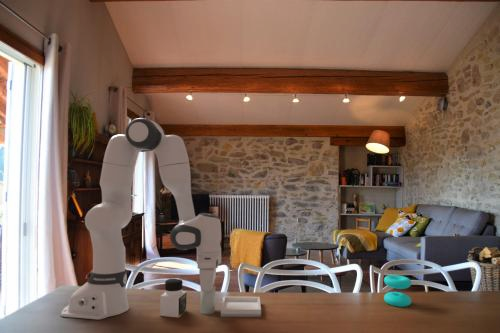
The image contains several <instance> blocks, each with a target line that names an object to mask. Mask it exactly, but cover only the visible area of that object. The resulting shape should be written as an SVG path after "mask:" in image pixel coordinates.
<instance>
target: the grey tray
mask: <svg viewBox="0 0 500 333" xmlns="http://www.w3.org/2000/svg"><path fill="white" fill-rule="evenodd" d="M261 306H262V305H261V298H260V296H223V297H222V302H221V307H220V317H221V318H262V307H261Z"/></svg>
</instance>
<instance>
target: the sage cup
mask: <svg viewBox="0 0 500 333" xmlns="http://www.w3.org/2000/svg"><path fill="white" fill-rule="evenodd" d="M210 295H211V299H210V302H206V301H205V294H204V292H202V291H201V290H200V313H201V314H202V315H203V314H204V315H212V314H215V313H216V285H214V284H213V288H212V291H211V293H210Z"/></svg>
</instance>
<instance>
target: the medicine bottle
mask: <svg viewBox="0 0 500 333" xmlns="http://www.w3.org/2000/svg"><path fill="white" fill-rule="evenodd" d="M159 301H160V302H159V303H160V304H159V307H160V308H159V316H160V317H166V318H167V317H168V318H177V319H178V318H180V317H182V315H183V314H184V313H186V311H187V291H186V290H183V280H182V279H181V278H177V277H173V278H168V279H167V280H165V282H164V293H162V294H161V295H160V299H159Z"/></svg>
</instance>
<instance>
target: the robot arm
mask: <svg viewBox="0 0 500 333" xmlns="http://www.w3.org/2000/svg"><path fill="white" fill-rule="evenodd" d="M145 152H154V153H155V155H156V159H157V163H158V171H159V176H160V179H161V182H162V184H163V186H164V187H165V188H166V189H167V190H169V192H170V193H171V194H172V195H173V197H174V200H175V205H176V208H177V214H178V219H179V220H178V224H176V225H175V226H174V227H173V229H172V230H171V231H170V234H169V240H170V243H171V245H172V246H173V247H174V249H177V250H180V251H187V250H191V249H196V264H197V269H199V270H198V272H199V274H198V275H199V284H200V292H201V291H202V292H204V294H205V301H206V302H210V299H211V295H210V293H211V291H212V288H213V285H214V284H215V282H216V277H217V269H218V268H219V265H220V264H222V247H221V241H222V225H221V221H220V217H219V216H217V215H216V214H213V213H209V212H200V213H199V214H198V215H196V211H195V206H194V205H195V204H194V202H193V196H192V184H191V182H192V181H191V178H192V177H191V167H190V166H191V165H190V159H189V155H188V151H187V148H186V144H185V142H184V139H183V138H182V137H181V136H179V135H176V134H166V132H165V130H164V128H163V127H162V126H161V125H160V124H159V123H158V122H156V121H154V120H151V119H148V118H145V117H139V118H134V119H132V120H131V121H130V122H129V123H128V124H127V126H126V127H125V134H115V135H113V136H111V138H110V139H109V140H108V143H107V146H106V149H105V152H104V157H103V160H102V161H103V162H102V167H101V172H100V179H99V186H100V188H101V203H99V204H96V205H95V206H93V207H92V208H91V209H89V210H88V211H87V213H86V215H85V217H84V224H85V227H86V229H87V230H88V232H89V235H90V241H91V245H92V270H90V272H88V273H87V274H86V275H85V280H86V279H87V281H86V282H85V283H84V284H82V286H80V287H79V288H78V289H76V290H75V291H74V292H73V293H72V294H71V296H70V298H69V302H68V305H66V306H65V307H63V308H62V310H61V312H60V315H61V317H64V318H66V317H67V318H75V319H76V318H78V319H88V320H89V319H90V320H103V319H106V318H108V317H113V316H117V315H121V314H123V313H125V312H127V311H128V310H129V309H130V305H129V302H128V296H127V286H126V285H127V279H128V276H127V268H126V246H125V245H124V241H123V234H122V229H124V228H125V227H126V226H128V224H129V223H130V222H131V220H132V218H133V217H132V216H133V210H132V185H133V179H134V173H135V166H136V161H137V157H138V155H139V153H145Z"/></svg>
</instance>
